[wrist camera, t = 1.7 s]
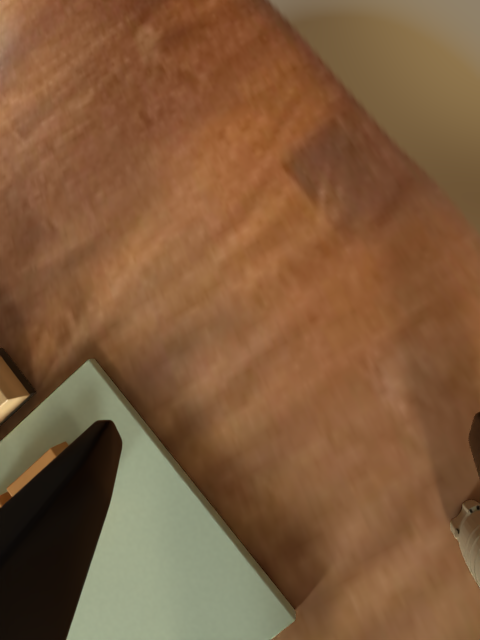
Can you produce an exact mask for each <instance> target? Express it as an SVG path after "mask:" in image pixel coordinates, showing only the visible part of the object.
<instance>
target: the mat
mask: <svg viewBox="0 0 480 640" xmlns="http://www.w3.org/2000/svg"><path fill="white" fill-rule="evenodd" d="M97 420H112V421H113V422H114V423H115V426H116V428H117V430H118V432H119V434H120V436H121V438H122V444H123V445H122V452H121V456H120V461H119V466H118V470H117V475H116V480H115V485H114V489H113V494H112V498H111V502H110V506H109V509H108V513H107V516H106V519H105V522H104V525H103V528H102V531H101V534H100V537H99V540H98V543H97V547H96V550H95V553H94V556H93V559H92V562H91V565H90V568H89V571H88V574H87V578H86V581H85V584H84V587H83V590H82V593H81V596H80V599H79V602H78V605H77V608H76V612H75V615H74V618H73V621H72V624H71V627H70V630H69V633H68V636H67V639H66V640H271V639H272V638H273V637H275V636H276V635H277V634H278V633H280V632H281V631H282V630H283V629H285V628H286V627H287V626H288V625H290V624H291V623H292V622H294V621H295V618H296V611H295V610H294V608H293V607H292V606H291V605H290V603H289V602H288V601H287V600H286V598H285V597H284V596H283V595H282V593H281V592H280V591H279V590H278V588H277V587H276V586H275V585H274V583H273V582H272V581H271V580H270V578H269V577H268V576H267V575H266V573H265V572H264V571H263V570H262V568H261V567H260V566H259V565H258V563H257V562H256V561H255V560H254V558H253V557H252V556H251V554H250V553H249V552H248V551H247V549H246V548H245V547H244V546H243V544H242V543H241V542H240V541H239V539H238V538H237V537H236V536H235V534H234V533H233V532H232V531H231V529H230V528H229V527H228V526H227V524H226V523H225V522H224V521H223V519H222V518H221V517H220V516H219V514H218V513H217V512H216V511H215V509H214V508H213V507H212V506H211V504H210V503H209V502H208V501H207V499H206V498H205V497H204V496H203V494H202V493H201V492H200V491H199V489H198V488H197V487H196V486H195V484H194V483H193V482H192V481H191V479H190V478H189V477H188V475H187V474H186V473H185V472H184V470H183V469H182V468H181V467H180V465H179V464H178V463H177V462H176V460H175V459H174V458H173V457H172V455H171V454H170V453H169V452H168V450H167V449H166V448H165V447H164V445H163V444H162V443H161V442H160V440H159V439H158V438H157V437H156V435H155V434H154V433H153V432H152V430H151V429H150V428H149V427H148V425H147V424H146V423H145V422H144V420H143V419H142V418H141V417H140V415H139V414H138V413H137V412H136V410H135V409H134V408H133V407H132V405H131V404H130V403H129V401H128V400H127V399H126V398H125V396H124V395H123V394H122V393H121V391H120V390H119V389H118V388H117V386H116V385H115V384H114V383H113V381H112V380H111V379H110V378H109V376H108V375H107V374H106V373H105V371H104V370H103V369H102V368H101V366H100V365H99V364H98V363H97V361H96V360H95V359H88V360H87V361H86V362H85V363H84V364H83V365H82V366H80V367H79V368H78V369H77V370H76V371H75V372H74V373H73V374H72V375H71V376H70V377H69V378H68V379H67V380H65V381H64V382H63V383H62V384H61V385H60V386H59V387H58V388H57V389H56V390H55V391H54V392H53V393H52V394H50V395H49V396H48V397H47V398H46V399H45V400H44V401H43V402H42V403H41V404H40V405H39V406H38V407H37V408H35V409H34V410H33V411H32V412H31V413H30V414H29V415H28V416H27V417H26V418H25V419H24V420H23V421H22V422H20V423H19V424H18V425H17V426H16V427H15V428H14V429H13V430H12V431H11V432H10V433H9V434H8V435H6V436H5V437H4V438H3V439H2V440H1V441H0V495H2V494H3V493H5V492H7V487H8V486H9V485H10V484H11V483H13V482H14V481H15V480H16V479H17V478H18V477H19V476H20V475H21V474H22V473H24V472H25V471H26V470H27V469H28V468H29V467H30V466H31V465H32V464H33V463H34V462H36V461H37V460H38V459H39V458H40V457H41V456H42V455H43V454H44V453H45V452H46V451H48V450H49V449H50V448H51V447H54V446H56V445H58V444H60V443H63V442H65V441H66V442H67V444H68V445H70V444H71V443H72V442H73V441H74V440H75V439H76V438H78V437H79V436H80V435H81V434H82V433H83V432H84V431H85V430H86V429H87V428H89V427H90V426H91V425H92V424H93V423H94V422H95V421H97Z"/></svg>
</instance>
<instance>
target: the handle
mask: <svg viewBox="0 0 480 640" xmlns="http://www.w3.org/2000/svg"><path fill="white" fill-rule="evenodd" d="M450 529H451V531H452V533H453V535H454V537H455V538H456V539H457V540H458V542H459V547H460V549H461V552H462V555H463V557H464V560H465V562H466V564H467V566H468V569H469V571H470V572H471V574H472V576H473V578H474V580H475V581H476V583H477V585H478V586H479V588H480V503H478V502H476V501H475V500H468V501H466V502H464V503H463V504H462V510H461V512H460V513H459V514H458V516H457V517H456V518H454V519H452V520H451V521H450Z"/></svg>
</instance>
